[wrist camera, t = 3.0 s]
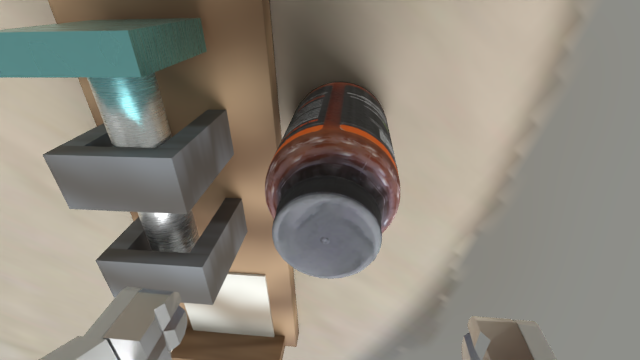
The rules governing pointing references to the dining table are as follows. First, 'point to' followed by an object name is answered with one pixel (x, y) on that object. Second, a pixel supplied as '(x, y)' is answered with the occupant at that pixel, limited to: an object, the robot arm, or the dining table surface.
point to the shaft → (116, 86)
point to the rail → (196, 181)
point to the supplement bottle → (333, 183)
